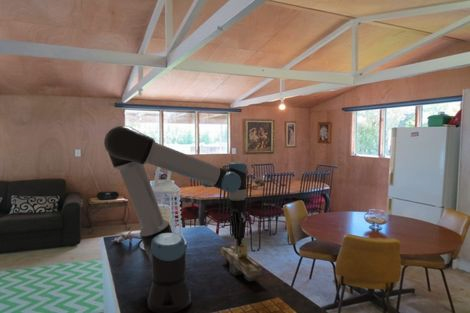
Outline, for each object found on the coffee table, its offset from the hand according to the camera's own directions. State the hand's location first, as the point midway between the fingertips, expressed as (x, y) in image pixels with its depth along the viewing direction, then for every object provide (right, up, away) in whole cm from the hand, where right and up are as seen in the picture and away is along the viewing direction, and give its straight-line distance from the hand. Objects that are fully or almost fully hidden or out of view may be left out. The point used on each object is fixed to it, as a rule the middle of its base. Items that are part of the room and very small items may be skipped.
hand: (238, 252), depth 140 cm
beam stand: (0, -8, 0) cm, 8 cm away
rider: (+2, -2, -4) cm, 5 cm away
